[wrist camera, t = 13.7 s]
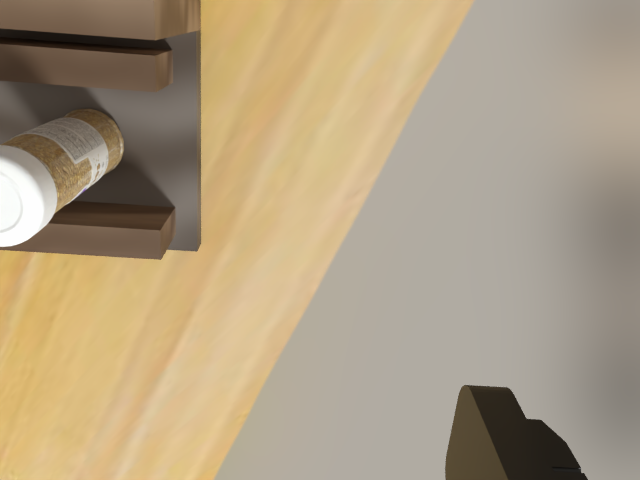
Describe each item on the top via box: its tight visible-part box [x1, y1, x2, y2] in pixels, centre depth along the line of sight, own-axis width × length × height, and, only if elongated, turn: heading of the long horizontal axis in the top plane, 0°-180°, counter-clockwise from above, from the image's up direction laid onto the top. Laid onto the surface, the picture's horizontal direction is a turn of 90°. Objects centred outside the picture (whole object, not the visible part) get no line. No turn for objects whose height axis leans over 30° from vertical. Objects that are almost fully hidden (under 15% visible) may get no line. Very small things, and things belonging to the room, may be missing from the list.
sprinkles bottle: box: [0, 109, 124, 247], centre depth 32 cm, size 5×5×14 cm
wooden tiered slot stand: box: [0, 0, 201, 260], centre depth 34 cm, size 17×14×12 cm
